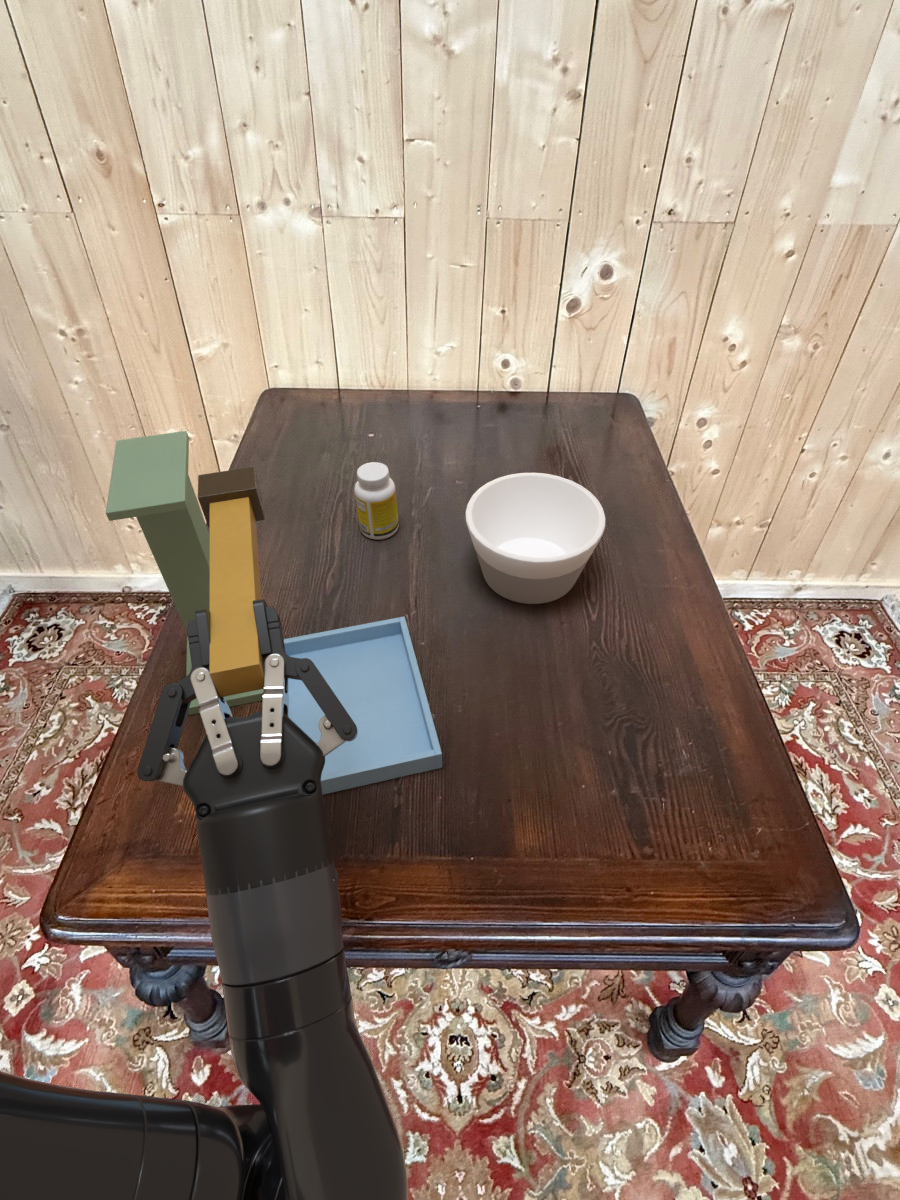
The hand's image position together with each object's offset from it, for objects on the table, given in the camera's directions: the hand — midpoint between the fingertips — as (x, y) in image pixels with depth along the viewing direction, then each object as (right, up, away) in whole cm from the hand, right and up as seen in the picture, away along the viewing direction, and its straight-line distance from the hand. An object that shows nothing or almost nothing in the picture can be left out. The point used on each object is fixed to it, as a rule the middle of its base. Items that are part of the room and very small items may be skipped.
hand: (231, 608), depth 45 cm
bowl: (+26, +5, +58) cm, 63 cm away
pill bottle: (+3, +12, +65) cm, 66 cm away
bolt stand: (-15, -9, +45) cm, 48 cm away
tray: (+2, -13, +41) cm, 43 cm away
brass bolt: (-1, +2, +5) cm, 6 cm away
